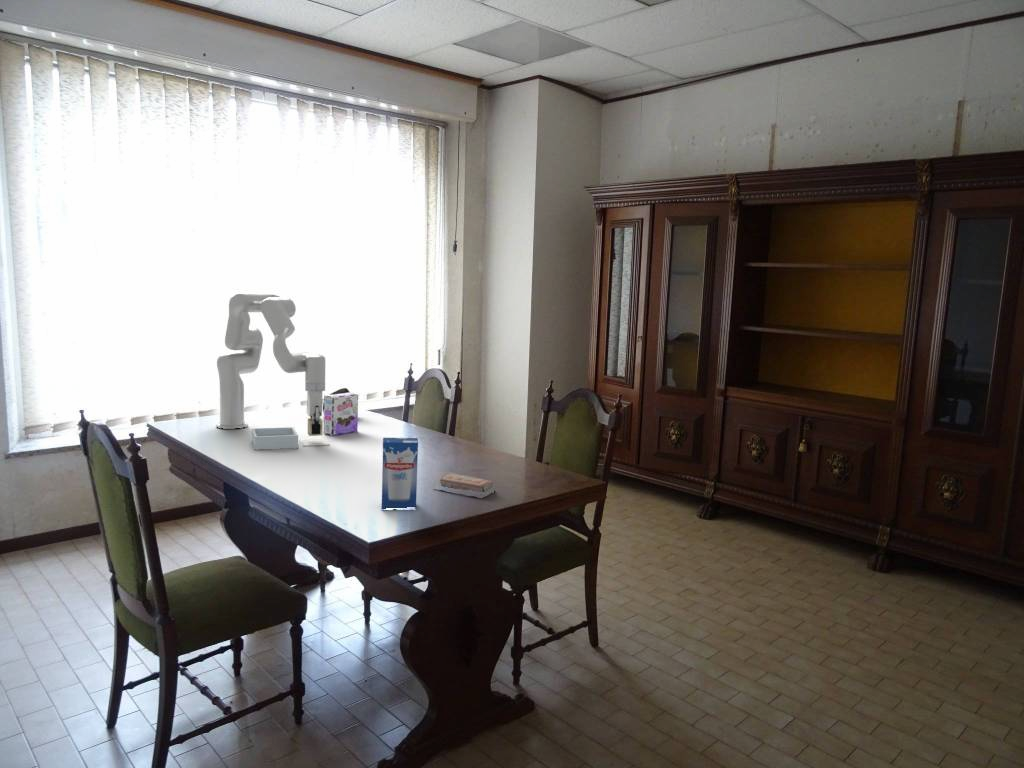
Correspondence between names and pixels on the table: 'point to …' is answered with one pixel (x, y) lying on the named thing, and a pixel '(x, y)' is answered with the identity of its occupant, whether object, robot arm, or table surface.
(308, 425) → the birch block
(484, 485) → the packaged product
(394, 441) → the milk carton
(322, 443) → the mat
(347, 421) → the candy box
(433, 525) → the table surface
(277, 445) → the square storage bin
